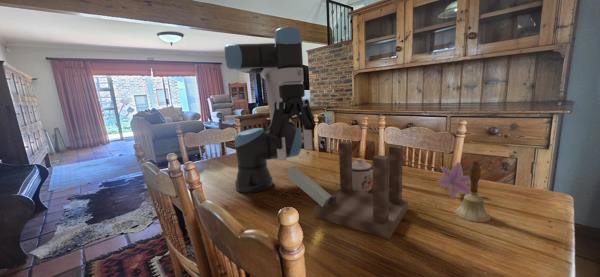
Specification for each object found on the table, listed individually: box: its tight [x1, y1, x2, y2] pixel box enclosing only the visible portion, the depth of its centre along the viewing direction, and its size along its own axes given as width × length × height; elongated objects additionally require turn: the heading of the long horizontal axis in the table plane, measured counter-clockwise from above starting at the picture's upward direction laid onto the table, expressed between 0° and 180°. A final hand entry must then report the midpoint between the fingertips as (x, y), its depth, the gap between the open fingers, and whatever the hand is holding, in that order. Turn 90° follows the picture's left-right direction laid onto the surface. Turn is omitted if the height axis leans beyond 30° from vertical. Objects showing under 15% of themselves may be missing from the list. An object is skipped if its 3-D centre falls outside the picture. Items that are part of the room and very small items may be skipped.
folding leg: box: [285, 165, 332, 207], centre depth 78 cm, size 3×3×15 cm
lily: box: [436, 161, 471, 199], centre depth 86 cm, size 12×12×10 cm
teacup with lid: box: [352, 157, 373, 193], centre depth 95 cm, size 12×9×12 cm
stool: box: [313, 140, 409, 240], centre depth 74 cm, size 22×18×20 cm
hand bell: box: [454, 159, 492, 223], centre depth 70 cm, size 8×8×16 cm
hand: (296, 154), depth 78 cm, fingers open, 13 cm apart
